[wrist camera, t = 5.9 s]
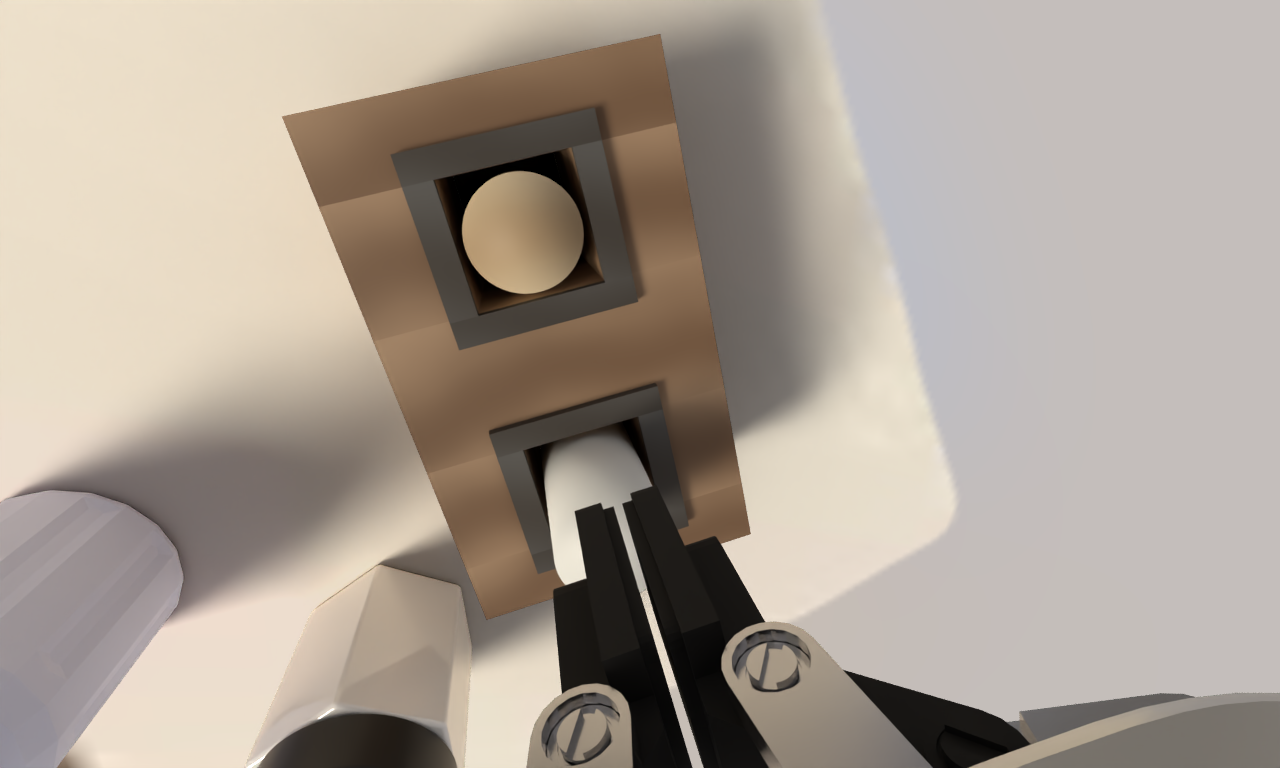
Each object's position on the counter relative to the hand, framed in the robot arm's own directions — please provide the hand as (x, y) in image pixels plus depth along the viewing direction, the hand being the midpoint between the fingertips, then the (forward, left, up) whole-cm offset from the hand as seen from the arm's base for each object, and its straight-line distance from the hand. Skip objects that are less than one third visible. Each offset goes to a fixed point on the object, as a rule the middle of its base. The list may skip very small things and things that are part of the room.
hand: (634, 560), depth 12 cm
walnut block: (0, 0, -20) cm, 20 cm away
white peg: (+5, 0, -15) cm, 16 cm away
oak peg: (-5, 0, -19) cm, 20 cm away
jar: (+15, -13, -20) cm, 28 cm away
